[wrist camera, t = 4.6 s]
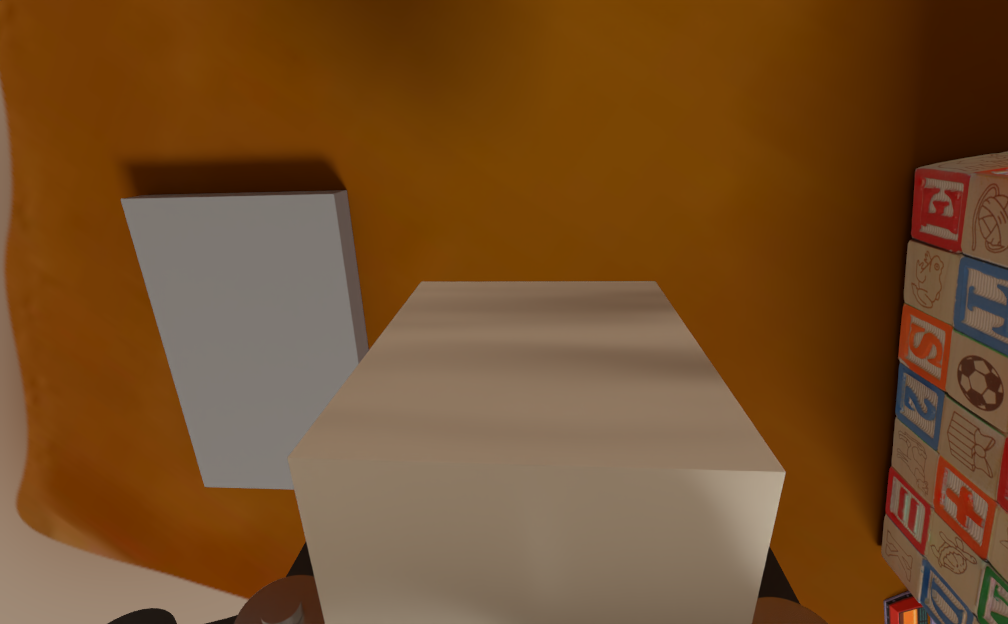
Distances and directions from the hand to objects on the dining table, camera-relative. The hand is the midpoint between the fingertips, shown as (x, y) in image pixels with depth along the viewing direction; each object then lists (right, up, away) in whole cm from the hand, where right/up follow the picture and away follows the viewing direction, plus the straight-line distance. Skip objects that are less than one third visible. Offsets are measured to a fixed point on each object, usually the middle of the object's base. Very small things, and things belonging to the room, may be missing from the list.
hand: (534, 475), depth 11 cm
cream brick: (0, 0, +1) cm, 1 cm away
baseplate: (-13, +2, +15) cm, 20 cm away
